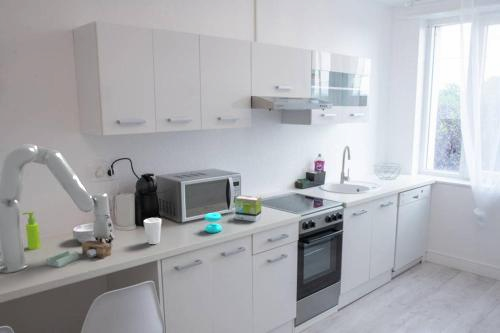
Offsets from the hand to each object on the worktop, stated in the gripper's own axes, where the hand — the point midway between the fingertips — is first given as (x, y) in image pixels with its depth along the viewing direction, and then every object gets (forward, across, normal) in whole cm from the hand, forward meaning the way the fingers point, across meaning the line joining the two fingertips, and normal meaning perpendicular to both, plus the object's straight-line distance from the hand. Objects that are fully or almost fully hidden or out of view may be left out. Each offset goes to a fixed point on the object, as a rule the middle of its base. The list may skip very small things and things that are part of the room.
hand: (104, 250), depth 208 cm
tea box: (+1, -48, -80) cm, 93 cm away
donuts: (+1, -38, -50) cm, 62 cm away
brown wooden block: (0, 0, +6) cm, 6 cm away
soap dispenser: (+1, +40, +11) cm, 42 cm away
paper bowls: (+1, +21, -9) cm, 23 cm away
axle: (0, 0, +3) cm, 3 cm away
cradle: (0, +9, +19) cm, 21 cm away
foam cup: (+1, -17, -19) cm, 26 cm away
